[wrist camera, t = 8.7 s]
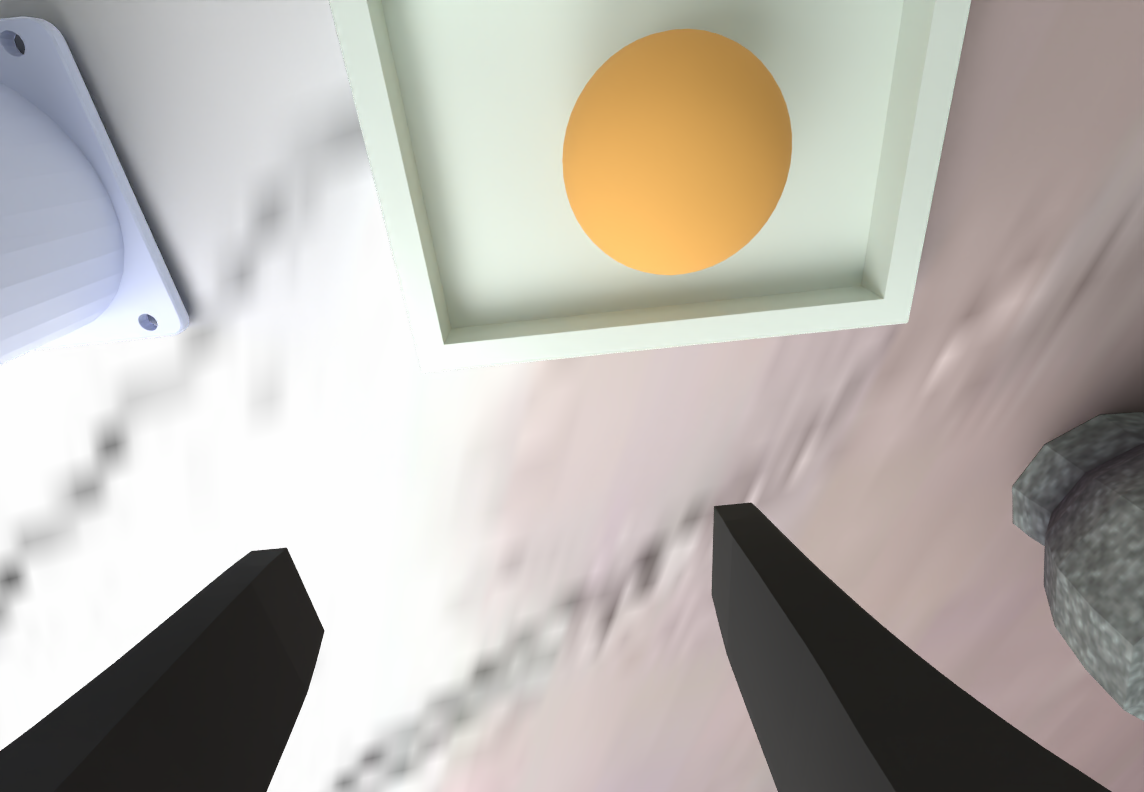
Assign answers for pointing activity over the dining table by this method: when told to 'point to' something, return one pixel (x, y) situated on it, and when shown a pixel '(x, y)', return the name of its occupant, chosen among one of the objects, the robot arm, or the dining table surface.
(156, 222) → the dining table surface
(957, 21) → the tray
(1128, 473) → the mortar and pestle
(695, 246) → the ball
